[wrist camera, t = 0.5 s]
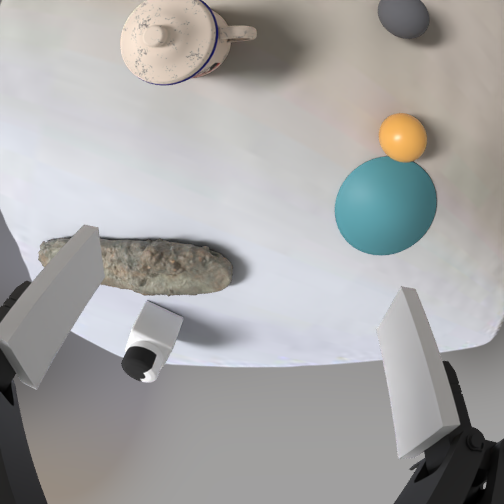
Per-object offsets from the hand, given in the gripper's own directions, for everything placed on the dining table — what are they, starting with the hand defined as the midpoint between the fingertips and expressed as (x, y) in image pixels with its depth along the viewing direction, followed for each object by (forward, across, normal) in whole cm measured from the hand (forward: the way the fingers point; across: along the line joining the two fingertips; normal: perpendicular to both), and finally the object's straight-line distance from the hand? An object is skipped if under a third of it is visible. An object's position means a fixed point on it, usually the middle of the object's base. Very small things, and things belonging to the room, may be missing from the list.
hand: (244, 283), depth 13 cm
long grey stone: (+26, -19, -22) cm, 39 cm away
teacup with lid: (+26, -9, +10) cm, 30 cm away
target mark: (+26, +16, -6) cm, 31 cm away
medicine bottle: (+26, -13, -34) cm, 45 cm away
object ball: (+23, +14, +4) cm, 27 cm away
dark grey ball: (+23, +11, +18) cm, 31 cm away
